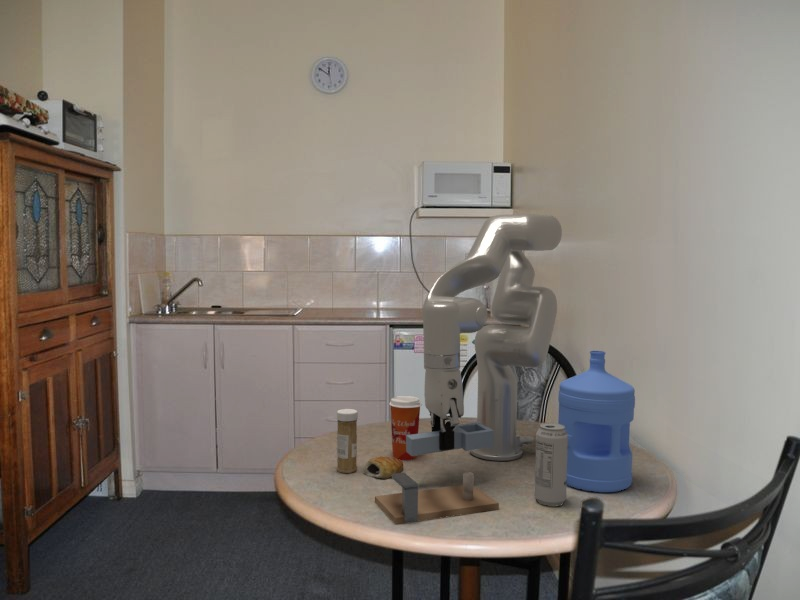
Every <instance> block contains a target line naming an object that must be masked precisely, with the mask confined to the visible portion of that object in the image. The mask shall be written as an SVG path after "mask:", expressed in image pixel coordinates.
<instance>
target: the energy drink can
mask: <svg viewBox="0 0 800 600" xmlns="http://www.w3.org/2000/svg"><path fill="white" fill-rule="evenodd" d="M535 436H536V437H535V465H534V468H535V469H534V498H536V502H537V503H538V502H539V504H540V505H542V504H543V506H546V505H548V506H547V507H557V506H556V505H560V506H562V505H563V504H564V502H565V501H566V499H567V485H566V482H567V451H568V435H567V433H566V431H565V426H563V425H561V424H558V423H556V422H555V423H554V422H543V423H540V424H539V428H538V430H537V432H536V433H535ZM562 503H563V504H562ZM561 504H562V505H561Z"/></svg>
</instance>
